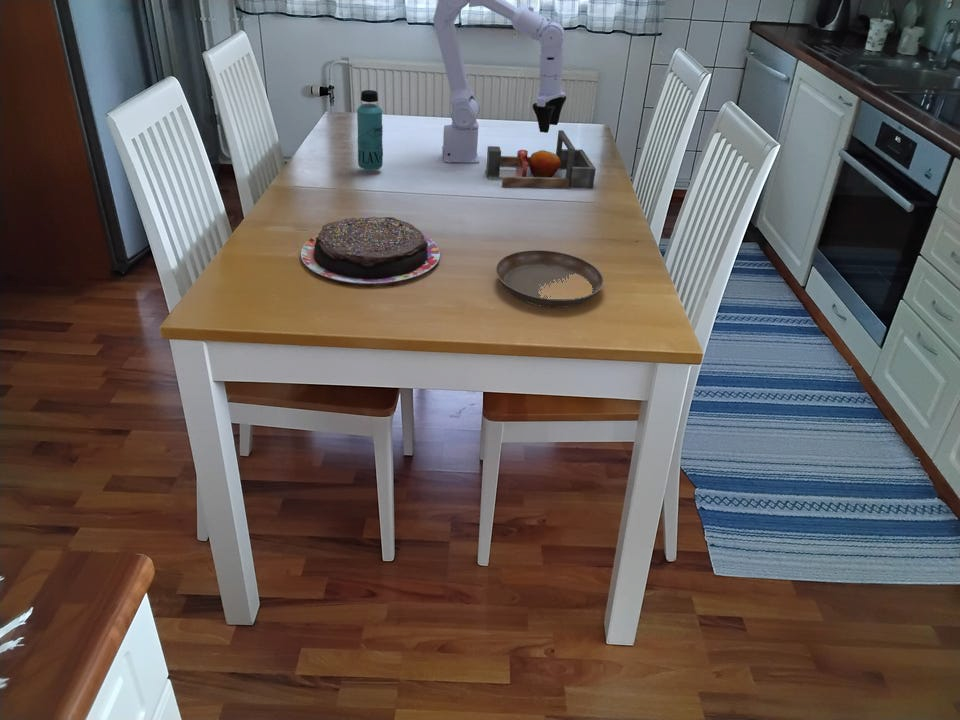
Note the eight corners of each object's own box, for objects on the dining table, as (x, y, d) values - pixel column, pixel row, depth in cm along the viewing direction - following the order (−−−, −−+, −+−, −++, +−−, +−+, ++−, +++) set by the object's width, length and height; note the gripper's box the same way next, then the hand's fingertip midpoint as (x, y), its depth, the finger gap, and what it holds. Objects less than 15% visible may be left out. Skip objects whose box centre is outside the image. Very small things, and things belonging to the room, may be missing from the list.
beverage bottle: (353, 173, 191) (351, 92, 180) (363, 165, 196) (361, 86, 185) (378, 177, 190) (376, 95, 179) (387, 169, 195) (386, 89, 184)
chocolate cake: (373, 219, 168) (373, 191, 165) (468, 258, 154) (470, 229, 150) (271, 256, 150) (268, 225, 146) (368, 305, 135) (367, 272, 132)
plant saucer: (613, 279, 150) (616, 264, 148) (583, 325, 134) (585, 308, 132) (517, 256, 156) (519, 241, 154) (477, 297, 140) (478, 281, 138)
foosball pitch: (502, 187, 189) (505, 147, 183) (494, 164, 203) (497, 127, 198) (593, 189, 192) (599, 150, 186) (579, 166, 206) (584, 130, 200)
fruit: (523, 175, 193) (529, 144, 192) (528, 182, 200) (534, 153, 200) (554, 180, 191) (560, 149, 191) (557, 187, 199) (564, 157, 198)
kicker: (489, 182, 191) (490, 155, 188) (484, 168, 200) (486, 142, 196) (528, 182, 193) (531, 156, 189) (522, 169, 201) (524, 143, 197)
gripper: (556, 81, 184) (554, 137, 191) (574, 69, 195) (571, 122, 202) (529, 79, 186) (528, 134, 193) (548, 67, 197) (546, 120, 204)
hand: (548, 128), depth 198 cm, fingers open, 7 cm apart
